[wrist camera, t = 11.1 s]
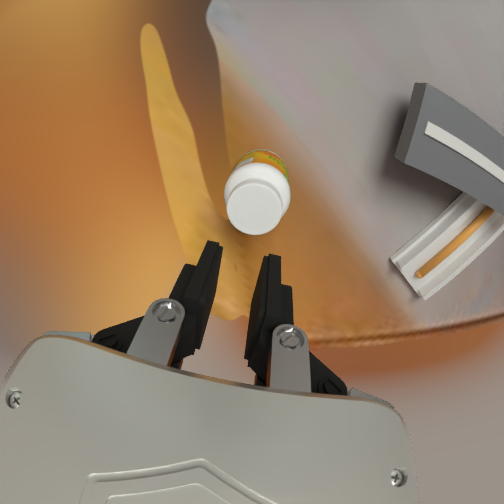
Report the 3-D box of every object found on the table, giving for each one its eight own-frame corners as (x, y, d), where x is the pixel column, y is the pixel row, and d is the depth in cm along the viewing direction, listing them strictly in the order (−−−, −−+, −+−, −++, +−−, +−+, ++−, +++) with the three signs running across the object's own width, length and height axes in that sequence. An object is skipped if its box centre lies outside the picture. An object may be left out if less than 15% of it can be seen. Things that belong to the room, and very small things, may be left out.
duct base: (499, 153, 21) (511, 158, 19) (516, 201, 24) (525, 208, 22) (389, 257, 31) (396, 268, 29) (417, 293, 34) (423, 304, 32)
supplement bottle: (297, 180, 27) (307, 220, 19) (255, 207, 29) (246, 255, 21) (267, 138, 25) (262, 158, 17) (225, 168, 27) (201, 202, 19)
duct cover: (529, 167, 19) (542, 174, 16) (511, 219, 23) (521, 228, 21) (414, 83, 18) (427, 83, 16) (393, 156, 22) (404, 163, 20)
